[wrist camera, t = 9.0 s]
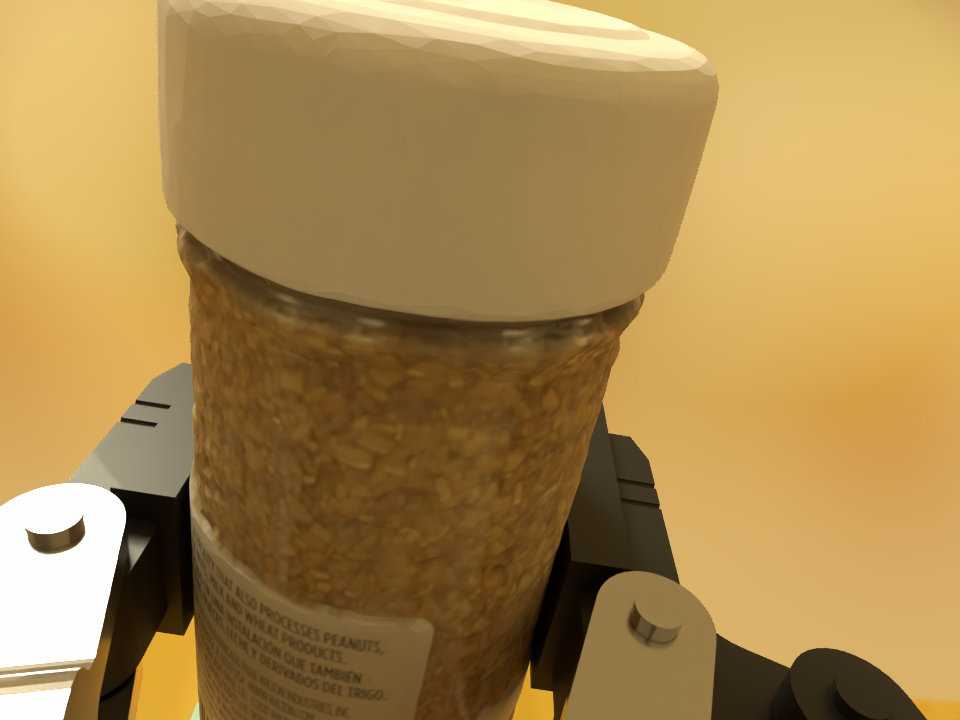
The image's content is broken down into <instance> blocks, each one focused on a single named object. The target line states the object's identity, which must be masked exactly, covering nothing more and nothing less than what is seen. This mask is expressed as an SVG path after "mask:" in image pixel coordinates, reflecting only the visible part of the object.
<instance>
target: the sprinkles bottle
mask: <svg viewBox="0 0 960 720" xmlns="http://www.w3.org/2000/svg"><path fill="white" fill-rule="evenodd" d="M157 68H158V69H157V72H158V120H159V137H160V155H161V173H162V189H163V193H164V197H165V200H166V203H167V206H168V209H169V210H170V212H171V213H172V214H173V216H174V217H175V218H176V229H177V234H178V238H177V249H178V253H179V256H180V258H181V261H182V263H183V265H184V266H185V268H186V270H187V272H188V274H189V276H190V296H189V314H190V324H191V331H190V342H191V365H192V387H193V394H194V406H193V410H192V424H193V440H194V460H193V464H192V469H191V474H190V482H189V490H190V516H191V541H192V565H193V594H194V622H195V637H196V660H197V680H198V697H199V715H200V720H512V718H513V714H514V710H515V707H516V704H517V702H518V699H519V696H520V693H521V690H522V687H523V683H524V679H525V676H526V673H527V669H528V666H529V662H530V657H531V652H532V641H533V632H534V629H535V625H536V623H537V620H538V618H539V615H540V612H541V607H542V604H543V600H544V597H545V593H546V588H547V585H548V582H549V578H550V575H551V572H552V569H553V563H554V560H555V557H556V553H557V550H558V548H559V545H560V541H561V537H562V533H563V528H564V525H565V523H566V520H567V518H568V515H569V512H570V509H571V506H572V503H573V500H574V497H575V493H576V491H577V488H578V486H579V483H580V480H581V473H582V470H583V467H584V464H585V461H586V458H587V454H588V449H589V444H590V440H591V437H592V433H593V430H594V427H595V424H596V421H597V418H598V415H599V413H600V410H601V406H602V400H603V397H604V394H605V391H606V387H607V382H608V378H609V374H610V371H611V367H612V366H613V364H614V362H615V360H616V358H617V356H618V353H619V349H620V347H619V346H620V345H619V343H620V342H619V337H620V335H621V334H622V332H623V331H624V330H625V329H626V328H627V327H628V325H629V324H630V323H631V322H632V320H633V319H634V318H635V317H636V316H637V315H638V313H639V310H640V308H641V306H642V304H643V300H644V292H646V291H647V290H648V289H650V288H651V287H653V286H654V285H655V284H656V282H657V281H658V280H659V279H660V278H661V276H662V275H663V273H664V272H665V270H666V268H667V266H668V263H669V260H670V257H671V254H672V251H673V248H674V245H675V242H676V239H677V236H678V233H679V230H680V226H681V224H682V220H683V217H684V214H685V211H686V207H687V204H688V201H689V198H690V195H691V191H692V188H693V185H694V182H695V178H696V175H697V171H698V168H699V165H700V161H701V158H702V154H703V151H704V147H705V144H706V141H707V136H708V133H709V130H710V126H711V122H712V119H713V116H714V112H715V108H716V104H717V99H718V90H719V85H718V79H717V74H716V71H715V69H714V68H713V66H712V65H711V64H710V62H709V61H708V59H707V58H706V57H704V56H703V55H702V54H701V53H699V52H698V51H697V50H695V49H693V48H691V47H689V46H687V45H685V44H684V43H681V42H680V41H677V40H674V39H671V38H669V37H666V36H663V35H660V34H658V33H654V32H651V31H648V30H644V29H641V28H638V27H637V26H635V25H633V24H631V23H628V22H625V21H623V20H620V19H617V18H613V17H610V16H607V15H604V14H601V13H597V12H592V11H588V10H584V9H581V8H577V7H573V6H569V5H564V4H560V3H556V2H551V1H548V0H157Z"/></svg>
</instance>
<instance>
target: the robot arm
mask: <svg viewBox="0 0 960 720" xmlns="http://www.w3.org/2000/svg"><path fill="white" fill-rule="evenodd" d="M193 406H194V394H193V387H192V365H191V364H187V363H181V364H179V365H178V366H176V367H174V368H172V369H170V370H169V371H166V372H165V373H163V374H161V375H159V376H158V377H156V378H154V379H153V380H152V381H151V382H150V383H149V385H148V386H147V387H146V388H145V389H144V391H143V392H142V393H141V394H140V396H139V397H138V398H137V399H136V403H135V404H132V405H131V406H130V407H129V408H128V410H127V411H126V412H125V413H124V414H123V416H122V417H121V421H120V422H117V423H116V424H115V425H114V427H113V428H112V429H111V430H110V431H109V432H108V434H107V435H106V436H105V437H104V438H103V440H102V441H101V442H100V443H99V444H98V446H97V447H96V448H95V449H94V451H93V452H92V453H91V454H90V455H89V456H88V458H87V459H86V460H85V461H84V463H83V464H82V465H81V466H80V467H79V469H78V470H77V471H76V472H75V473H74V474H73V476H72V477H71V478H70V479H69V480H68V482H67V483H66V484H63V485H54V486H50V487H44V488H41V489H38V490H34V491H31V492H29V493H26V494H23V495H21V496H19V497H17V498H15V499H13V500H11V501H10V502H8V503H7V504H5V505H4V506H2V507H1V508H0V720H135V719H136V713H137V707H138V700H139V694H140V687H141V681H142V661H141V660H142V658H143V656H144V654H145V652H146V650H147V648H148V646H149V644H150V642H151V641H152V639H153V637H154V635H155V633H156V632H163V633H169V634H176V635H183V636H184V634H185V632H186V630H187V628H188V626H189V624H190V622H191V620H192V618H193V616H194V594H193V565H192V541H191V516H190V490H189V482H190V474H191V469H192V464H193V460H194V440H193V424H192V410H193ZM654 485H655V483H654V479H653V475H652V471H651V467H650V463H649V460H648V459H647V457H646V456H645V455H644V454H643V452H642V451H641V450H640V449H639V447H638V446H637V445H636V444H635V442H634V441H633V440H632V439H631V437H627V436H622V435H616V434H609V433H608V429H607V424H606V419H605V413H604V407H603V403H602V406H601V410H600V413H599V415H598V418H597V421H596V424H595V427H594V430H593V433H592V437H591V440H590V444H589V449H588V454H587V458H586V461H585V464H584V467H583V470H582V473H581V480H580V483H579V486H578V488H577V491H576V493H575V497H574V500H573V503H572V506H571V509H570V512H569V515H568V518H567V520H566V523H565V525H564V528H563V533H562V537H561V541H560V545H559V548H558V550H557V553H556V557H555V560H554V563H553V569H552V572H551V575H550V578H549V582H548V585H547V588H546V593H545V597H544V600H543V604H542V607H541V612H540V615H539V618H538V620H537V623H536V625H535V629H534V632H533V641H532V652H531V657H530V676H531V688H533V689H540V690H547V691H553V700H554V718H553V720H927V719H926V718H925V717H924V715H923V714H922V713H921V712H920V710H919V709H918V708H917V707H916V705H915V704H914V703H913V702H912V700H911V699H910V698H909V697H908V695H907V694H906V693H905V692H904V691H903V690H902V689H901V688H900V686H899V685H897V684H896V683H895V682H894V681H893V680H892V679H891V678H890V677H889V676H887V675H886V674H885V673H884V672H882V671H881V670H880V669H878V668H877V667H875V666H873V665H872V664H870V663H869V662H867V661H865V660H863V659H861V658H859V657H857V656H855V655H852V654H850V653H847V652H844V651H840V650H836V649H829V648H816V649H811V650H808V651H806V652H804V653H802V654H800V656H798V657H797V658H796V660H795V661H794V663H793V665H792V666H791V668H788V667H786V666H784V665H781V664H779V663H777V662H774V661H772V660H769V659H767V658H765V657H763V656H760V655H758V654H755V653H753V652H750V651H748V650H746V649H744V648H741V647H739V646H737V645H735V644H733V643H731V642H730V641H728V640H726V639H725V638H723V637H721V636H720V635H719V634H717V633H716V630H715V626H714V623H713V621H712V619H711V617H710V615H709V613H708V611H707V610H706V608H705V607H704V606H703V604H702V603H701V602H700V601H699V600H698V599H697V598H696V597H695V596H694V595H693V594H692V593H691V592H690V591H688V590H687V589H685V588H684V587H683V586H681V585H680V583H679V579H678V574H677V570H676V567H675V563H674V559H673V555H672V551H671V547H670V543H669V539H668V535H667V531H666V527H665V523H664V520H663V515H662V511H661V510H660V509H659V505H660V503H659V499H658V495H657V491H656V489H654Z"/></svg>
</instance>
